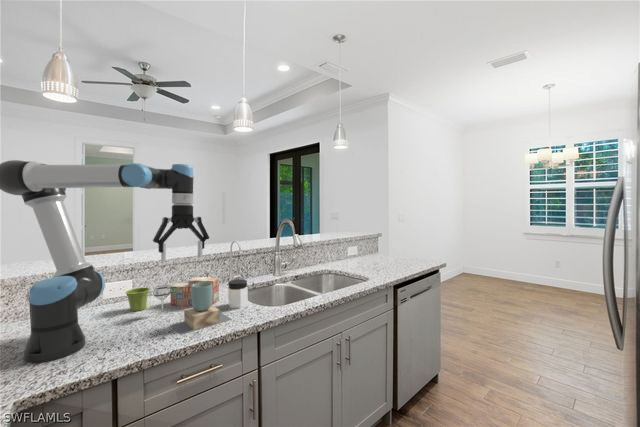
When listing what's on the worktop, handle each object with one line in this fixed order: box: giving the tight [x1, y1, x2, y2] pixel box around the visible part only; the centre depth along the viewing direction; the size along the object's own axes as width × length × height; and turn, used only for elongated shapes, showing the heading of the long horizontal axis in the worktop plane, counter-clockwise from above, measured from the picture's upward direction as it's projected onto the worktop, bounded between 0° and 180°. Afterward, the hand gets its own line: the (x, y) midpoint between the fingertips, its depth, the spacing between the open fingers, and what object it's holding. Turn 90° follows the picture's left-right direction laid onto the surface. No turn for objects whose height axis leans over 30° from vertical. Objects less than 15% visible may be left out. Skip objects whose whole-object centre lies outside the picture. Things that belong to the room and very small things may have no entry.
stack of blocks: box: [169, 276, 220, 307], centre depth 143 cm, size 21×6×12 cm, turn 85°
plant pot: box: [125, 287, 151, 312], centre depth 137 cm, size 9×9×9 cm
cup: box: [191, 282, 213, 311], centre depth 119 cm, size 8×8×10 cm
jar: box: [227, 278, 249, 309], centre depth 138 cm, size 9×8×12 cm
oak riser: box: [183, 304, 220, 330], centre depth 119 cm, size 10×10×5 cm
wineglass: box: [152, 284, 171, 317], centre depth 130 cm, size 7×7×12 cm
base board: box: [170, 311, 233, 335], centre depth 119 cm, size 20×12×1 cm, turn 133°
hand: (182, 259), depth 117 cm, fingers open, 13 cm apart
